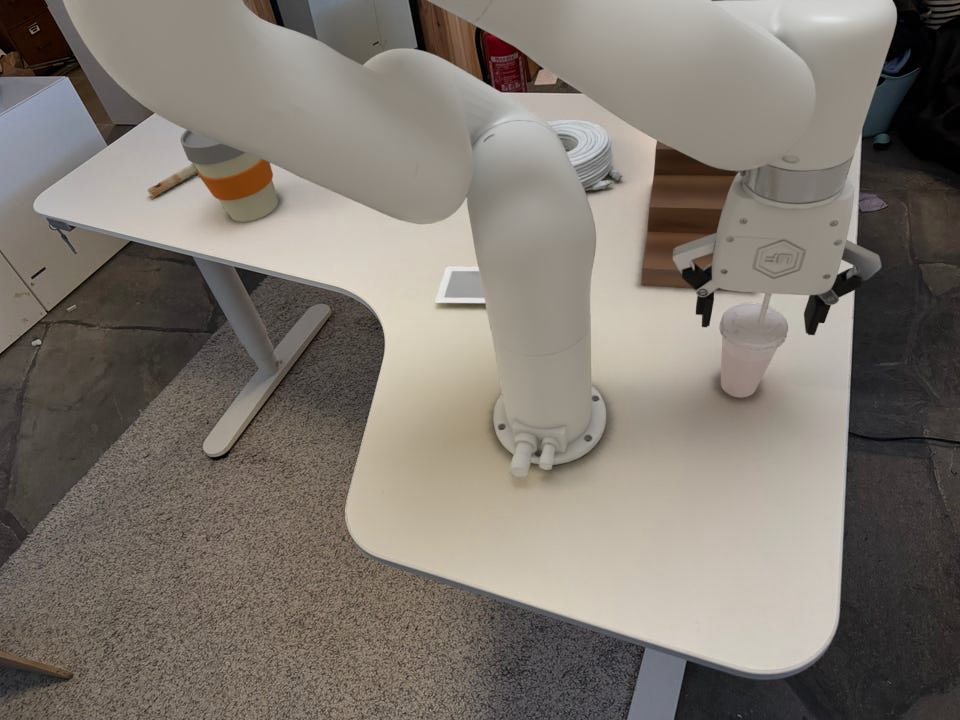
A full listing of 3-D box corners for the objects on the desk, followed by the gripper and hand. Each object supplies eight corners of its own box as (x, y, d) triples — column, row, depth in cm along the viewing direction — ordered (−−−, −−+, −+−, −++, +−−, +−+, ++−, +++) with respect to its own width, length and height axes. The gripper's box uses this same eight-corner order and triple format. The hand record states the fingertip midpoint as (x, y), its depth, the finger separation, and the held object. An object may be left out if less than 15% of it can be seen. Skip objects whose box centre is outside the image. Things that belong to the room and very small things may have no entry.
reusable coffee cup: (255, 183, 116) (219, 107, 105) (301, 195, 111) (269, 116, 100) (206, 219, 110) (163, 142, 99) (253, 233, 104) (213, 153, 93)
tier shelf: (753, 292, 77) (771, 219, 69) (641, 285, 81) (645, 216, 73) (749, 188, 92) (763, 119, 85) (654, 187, 96) (659, 121, 88)
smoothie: (772, 409, 65) (804, 314, 55) (709, 405, 67) (729, 312, 56) (765, 365, 69) (794, 269, 59) (706, 362, 71) (725, 268, 61)
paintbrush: (237, 139, 124) (150, 190, 116) (243, 151, 126) (158, 202, 118) (227, 135, 126) (142, 184, 118) (234, 147, 128) (150, 196, 120)
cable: (627, 186, 98) (628, 151, 93) (523, 211, 97) (519, 177, 93) (592, 138, 110) (591, 105, 105) (499, 160, 109) (495, 128, 105)
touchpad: (543, 309, 81) (542, 297, 79) (435, 308, 84) (432, 296, 82) (548, 272, 86) (548, 260, 84) (447, 272, 89) (444, 260, 88)
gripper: (679, 192, 48) (664, 340, 61) (930, 195, 43) (858, 356, 56) (683, 144, 53) (668, 291, 65) (911, 143, 48) (848, 302, 61)
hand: (755, 321), depth 61 cm, fingers open, 9 cm apart
